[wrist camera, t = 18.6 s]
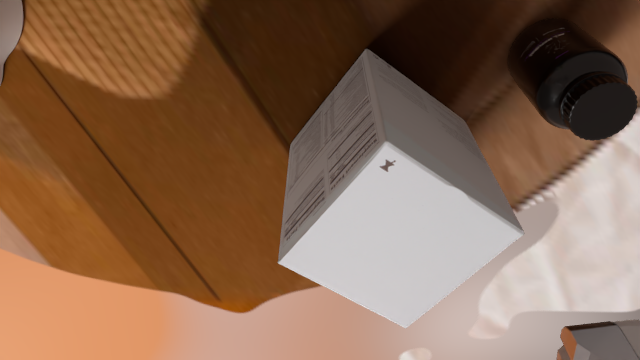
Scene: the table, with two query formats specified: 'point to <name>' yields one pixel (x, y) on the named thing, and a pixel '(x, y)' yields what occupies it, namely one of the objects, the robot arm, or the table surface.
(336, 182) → the supplement box
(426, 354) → the table surface
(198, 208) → the table surface
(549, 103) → the supplement bottle
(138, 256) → the table surface
